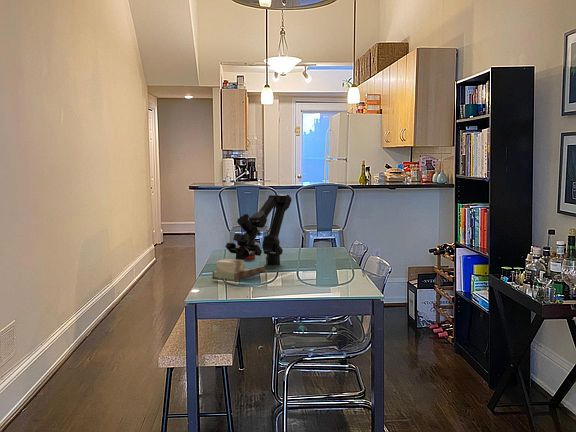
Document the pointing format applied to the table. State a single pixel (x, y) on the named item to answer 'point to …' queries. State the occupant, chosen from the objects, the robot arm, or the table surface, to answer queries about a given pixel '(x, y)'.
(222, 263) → the birch block
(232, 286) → the table surface
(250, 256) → the canned food
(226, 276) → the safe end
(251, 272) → the channel
